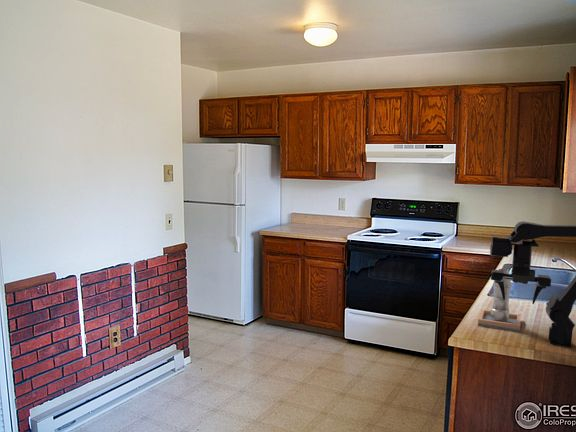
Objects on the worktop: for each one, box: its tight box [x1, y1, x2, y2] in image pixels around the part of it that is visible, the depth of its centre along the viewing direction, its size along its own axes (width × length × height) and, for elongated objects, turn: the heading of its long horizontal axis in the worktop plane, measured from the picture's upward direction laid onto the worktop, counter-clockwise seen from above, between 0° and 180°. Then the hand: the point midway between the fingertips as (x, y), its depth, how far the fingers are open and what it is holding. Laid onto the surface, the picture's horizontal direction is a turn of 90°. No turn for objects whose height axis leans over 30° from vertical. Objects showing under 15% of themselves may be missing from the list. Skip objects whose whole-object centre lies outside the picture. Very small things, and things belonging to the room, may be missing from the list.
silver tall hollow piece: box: [490, 268, 513, 322], centre depth 189 cm, size 6×7×20 cm
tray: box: [477, 308, 521, 332], centre depth 190 cm, size 14×14×2 cm
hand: (518, 301), depth 173 cm, fingers open, 9 cm apart
